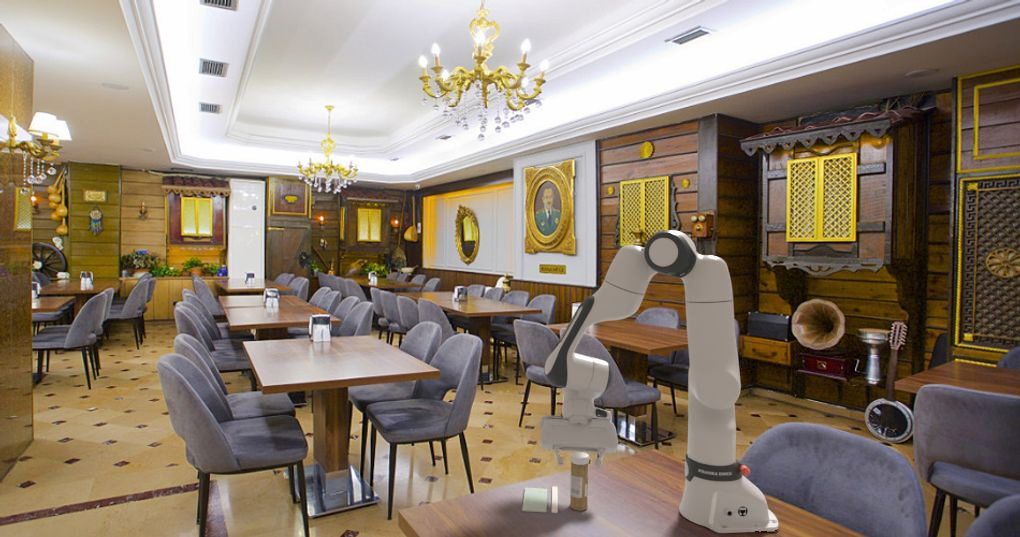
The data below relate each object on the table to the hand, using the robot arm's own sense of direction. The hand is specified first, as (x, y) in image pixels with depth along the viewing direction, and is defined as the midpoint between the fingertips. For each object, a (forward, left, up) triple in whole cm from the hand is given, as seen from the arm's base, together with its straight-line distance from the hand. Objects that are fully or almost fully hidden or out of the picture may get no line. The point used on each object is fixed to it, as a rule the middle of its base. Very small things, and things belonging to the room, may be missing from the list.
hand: (578, 466), depth 141 cm
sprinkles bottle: (0, +2, -10) cm, 10 cm away
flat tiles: (+10, -1, -10) cm, 14 cm away
